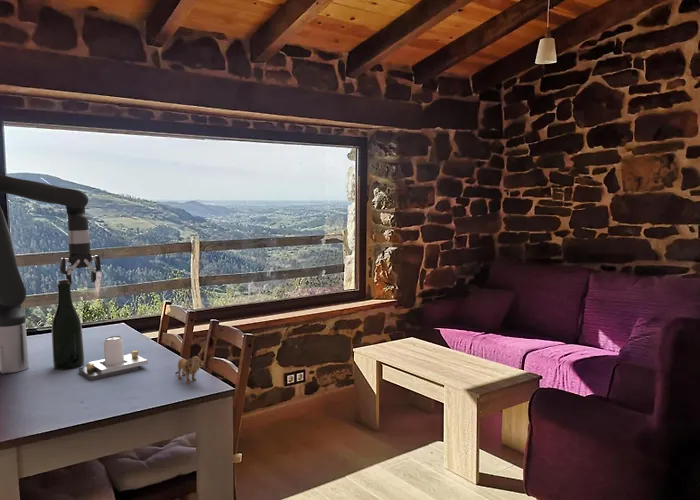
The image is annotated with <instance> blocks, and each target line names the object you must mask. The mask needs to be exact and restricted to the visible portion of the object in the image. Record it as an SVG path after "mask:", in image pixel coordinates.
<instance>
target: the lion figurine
mask: <svg viewBox="0 0 700 500" xmlns="http://www.w3.org/2000/svg"><path fill="white" fill-rule="evenodd" d="M204 363H205V362H204V360H203V361H202V360H201V359H200V358H199V356H197V355H195V356H192V357H190V358H188V359H186V358H180V359H179V360H178V363H177V368H178V369H177V371H176V372H175V373H174V374H175V375H177V374H178V375H177V379H178V380H180V379H182V376H185V377H186V381H185V382H186V384H190V383H191V381H193V382H195V381H197V378H195V376H196V374H197V372H198V371H200V368H202V367H203V365H204ZM181 374H182V376H181ZM190 375H191V379H190Z"/></svg>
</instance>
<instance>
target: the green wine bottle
mask: <svg viewBox="0 0 700 500" xmlns="http://www.w3.org/2000/svg"><path fill="white" fill-rule="evenodd" d="M71 285H72V284H70V283H69V280H68V279H66V278H65V279H64V278H63V279H59V280H58V283H57V293H58V294H57V297H58V298H57V307H56V310H55V313H54V315H53V319H52V322H51V342H52V343H51V344H52V345H51V346H52V348H51V349H52V363H53V367H54V368H55V369H56V370H70V369H71V370H72V369H75V368H80V367H81V366H82V365H84V364H85V354H84V352H85V349H84V341H83V340H84V338H83V327H82V322H81V319H80V317H79V314H78V311H77V310H76V309H75V305H74V302H73V297H72V290H71V289H72V288H71V287H72V286H71Z"/></svg>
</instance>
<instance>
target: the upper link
mask: <svg viewBox="0 0 700 500" xmlns="http://www.w3.org/2000/svg"><path fill="white" fill-rule="evenodd" d="M89 363H94V370H96V371H97V372H99V373H100V374H104V373H109V372H113V371H118V370H123V369H127V368H132V367H136V366H138V367H139V366H140V367H141V366H144V365H148V359H146V358H144V357H142V356H140V355H139V350H136V349H135V350H131V352H130V353H128V354H124V363H122V364H117V365H113V366H108V367H105V366H104V365H105V358H104V359H98V360H93V361H89V362H88V364H89Z"/></svg>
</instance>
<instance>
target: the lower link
mask: <svg viewBox="0 0 700 500" xmlns="http://www.w3.org/2000/svg"><path fill="white" fill-rule="evenodd" d="M104 366H105V365H104ZM136 371H139V366H136V367H132V368H127V369H123V370H118V371H113V372H109V373H104V374H100V373H99V372H97V371H96V370H94V363H89V362H88V363H87V364H86V366H85V367H78V373H79V374H80V375H82V376H83V377H85V378H87V379H88V380H89V381H96V380H101V379H104V378H108V377H109V378H110V377H113V376H117V375H123V374H126V373H132V372H136Z"/></svg>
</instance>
